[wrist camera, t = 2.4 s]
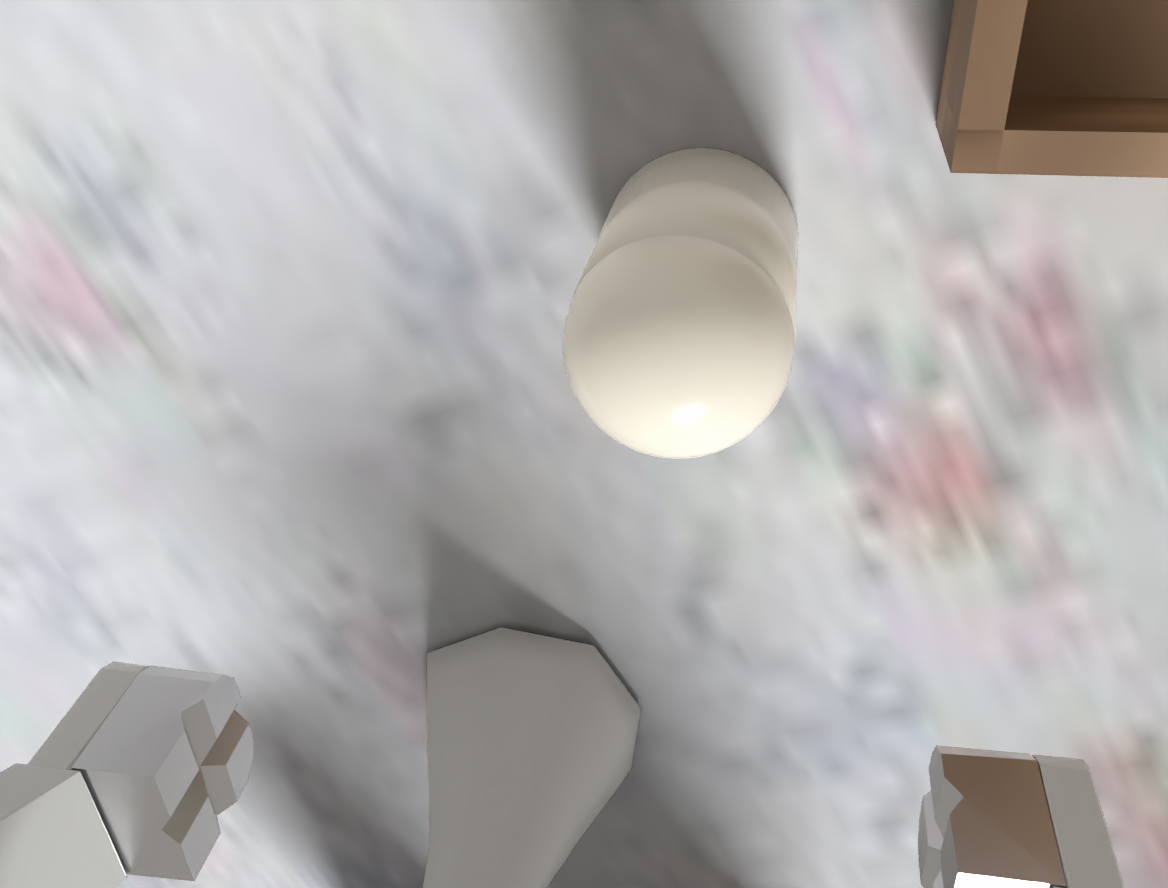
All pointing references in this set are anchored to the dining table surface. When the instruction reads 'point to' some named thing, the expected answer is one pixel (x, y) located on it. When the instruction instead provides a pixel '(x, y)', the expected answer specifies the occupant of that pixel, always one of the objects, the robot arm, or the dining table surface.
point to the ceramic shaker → (687, 306)
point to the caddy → (1056, 88)
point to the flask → (519, 755)
